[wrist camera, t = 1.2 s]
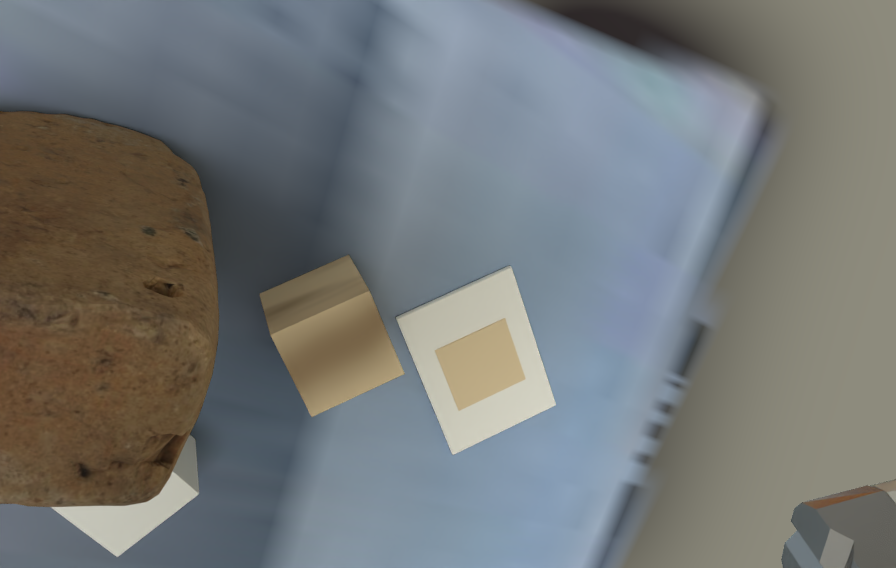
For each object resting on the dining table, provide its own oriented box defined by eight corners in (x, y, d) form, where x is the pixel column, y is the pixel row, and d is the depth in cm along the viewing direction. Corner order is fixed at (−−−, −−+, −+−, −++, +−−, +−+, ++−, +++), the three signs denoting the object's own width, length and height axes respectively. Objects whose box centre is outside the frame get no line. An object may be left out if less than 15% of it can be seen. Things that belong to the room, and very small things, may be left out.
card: (554, 402, 51) (556, 405, 51) (451, 452, 50) (453, 456, 50) (509, 265, 47) (512, 267, 46) (395, 317, 46) (397, 320, 46)
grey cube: (195, 438, 45) (199, 493, 41) (121, 495, 45) (117, 556, 41) (129, 378, 43) (125, 430, 38) (50, 439, 43) (38, 497, 38)
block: (211, 147, 40) (253, 325, 22) (169, 290, 42) (176, 557, 24) (-47, 71, 35) (-252, 216, 18) (-80, 234, 37) (-295, 511, 20)
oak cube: (381, 331, 46) (404, 373, 42) (296, 369, 45) (311, 417, 41) (348, 254, 44) (369, 290, 39) (258, 293, 43) (270, 335, 39)
